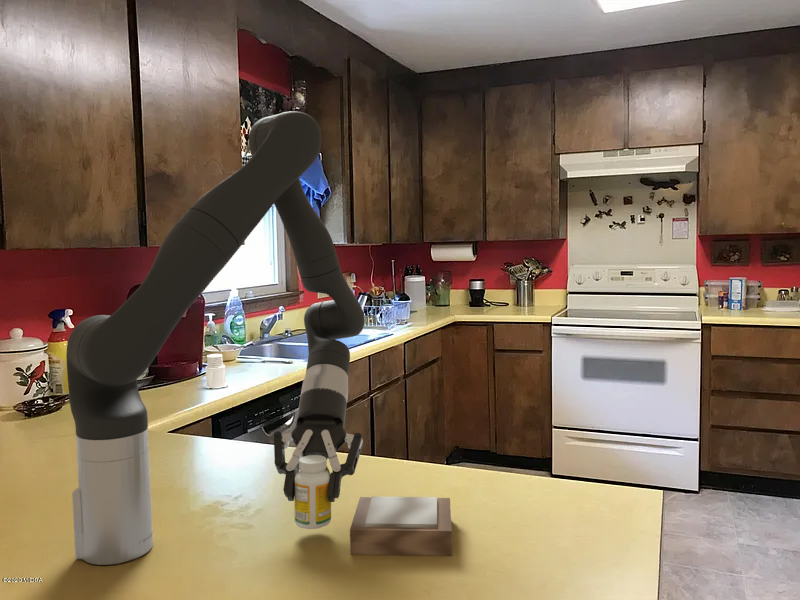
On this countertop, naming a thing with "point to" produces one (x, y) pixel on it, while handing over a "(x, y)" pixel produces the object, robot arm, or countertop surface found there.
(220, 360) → the white pipe fitting
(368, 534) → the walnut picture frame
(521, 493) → the countertop surface
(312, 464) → the supplement bottle
